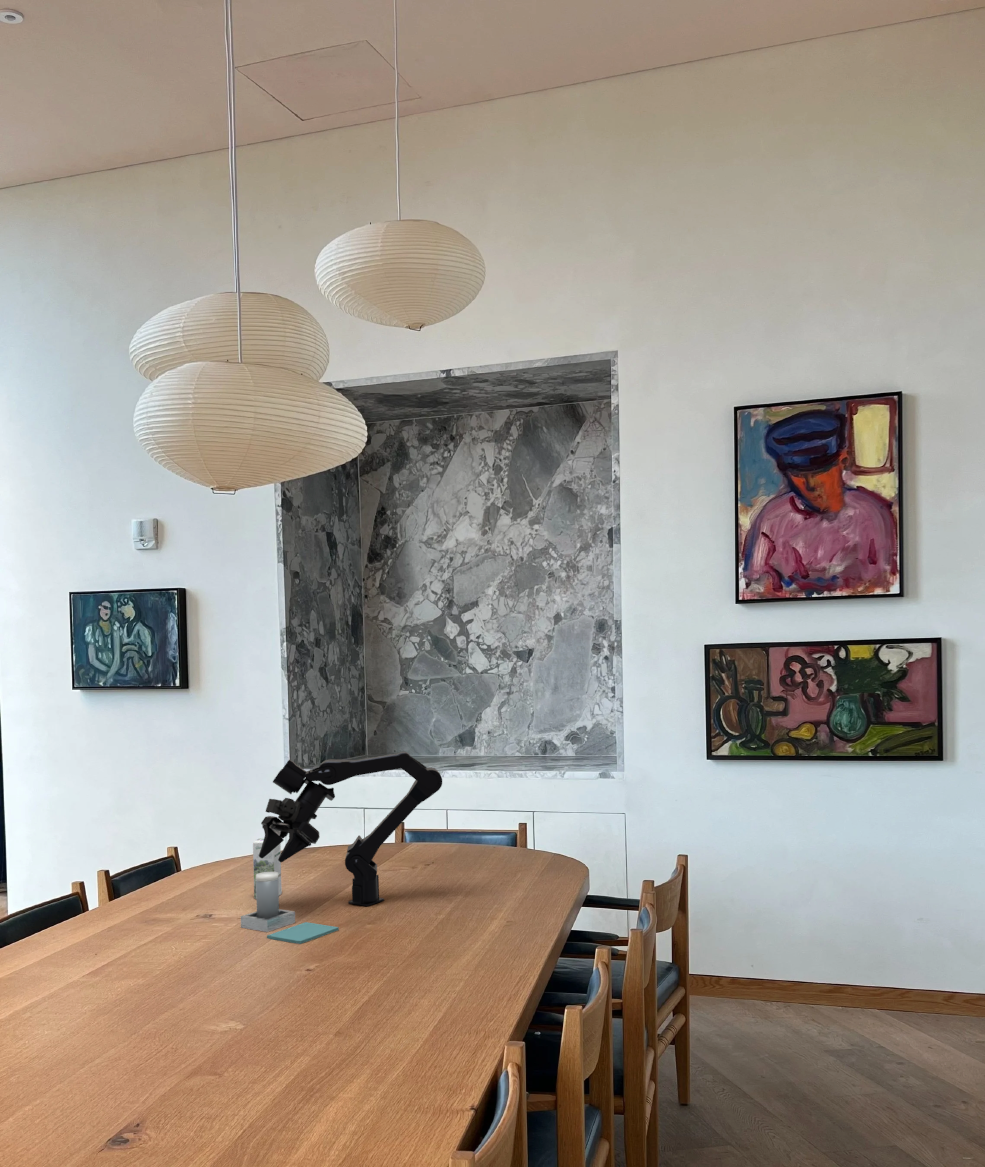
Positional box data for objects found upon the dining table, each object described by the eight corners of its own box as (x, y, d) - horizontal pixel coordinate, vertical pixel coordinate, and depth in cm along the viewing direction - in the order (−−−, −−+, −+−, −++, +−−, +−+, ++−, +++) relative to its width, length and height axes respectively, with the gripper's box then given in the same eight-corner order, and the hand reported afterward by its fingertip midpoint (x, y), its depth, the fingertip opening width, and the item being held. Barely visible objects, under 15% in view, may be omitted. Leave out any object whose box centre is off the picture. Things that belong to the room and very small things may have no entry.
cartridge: (268, 921, 231) (267, 870, 232) (283, 923, 228) (282, 872, 229) (252, 926, 227) (251, 875, 227) (267, 929, 224) (266, 877, 225)
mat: (306, 924, 226) (305, 922, 226) (338, 930, 221) (338, 927, 221) (266, 938, 216) (266, 935, 216) (300, 944, 211) (300, 941, 211)
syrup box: (282, 893, 258) (281, 837, 259) (275, 899, 252) (273, 841, 253) (261, 894, 259) (259, 837, 260) (253, 899, 253) (252, 841, 254)
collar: (268, 918, 233) (268, 907, 233) (295, 922, 228) (294, 911, 229) (240, 927, 226) (240, 916, 226) (267, 931, 221) (267, 920, 221)
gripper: (265, 783, 248) (227, 836, 240) (304, 786, 234) (266, 843, 226) (295, 809, 252) (259, 862, 244) (335, 814, 239) (298, 871, 230)
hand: (269, 859), depth 236 cm, fingers open, 9 cm apart
